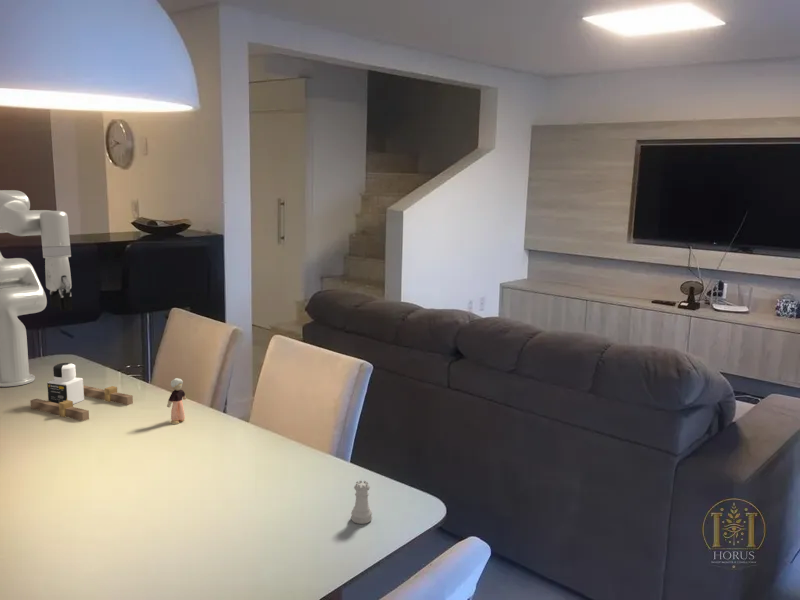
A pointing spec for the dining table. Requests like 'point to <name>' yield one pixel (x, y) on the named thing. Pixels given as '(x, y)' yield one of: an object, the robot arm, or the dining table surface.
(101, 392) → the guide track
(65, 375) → the medicine bottle
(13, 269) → the robot arm
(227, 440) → the dining table surface
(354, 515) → the rook chess piece
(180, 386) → the grandmother figurine
